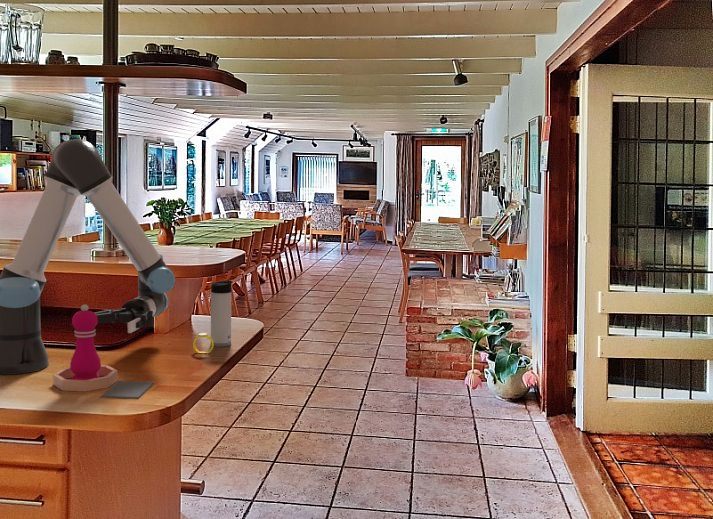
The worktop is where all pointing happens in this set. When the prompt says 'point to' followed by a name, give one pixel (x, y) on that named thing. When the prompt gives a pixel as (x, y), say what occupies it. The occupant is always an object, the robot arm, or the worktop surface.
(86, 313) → the pepper mill
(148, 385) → the mat
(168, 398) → the worktop surface
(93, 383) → the octagonal frame ring
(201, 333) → the watch
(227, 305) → the travel mug
